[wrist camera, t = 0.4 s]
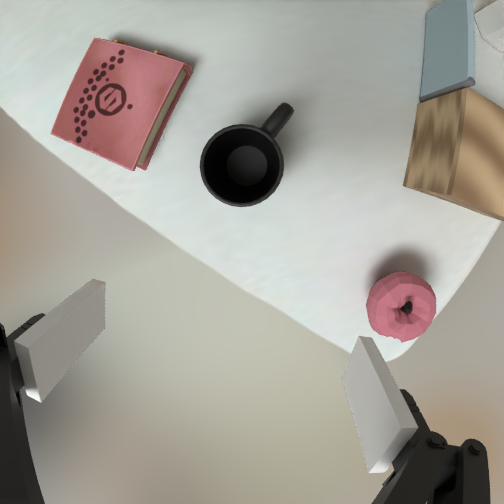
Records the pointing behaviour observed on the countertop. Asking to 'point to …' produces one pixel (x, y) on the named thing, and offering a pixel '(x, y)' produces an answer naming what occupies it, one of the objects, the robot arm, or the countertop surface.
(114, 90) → the book
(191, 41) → the countertop surface
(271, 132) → the mug
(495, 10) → the jar
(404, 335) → the apple
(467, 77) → the door
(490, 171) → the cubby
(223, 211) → the countertop surface
